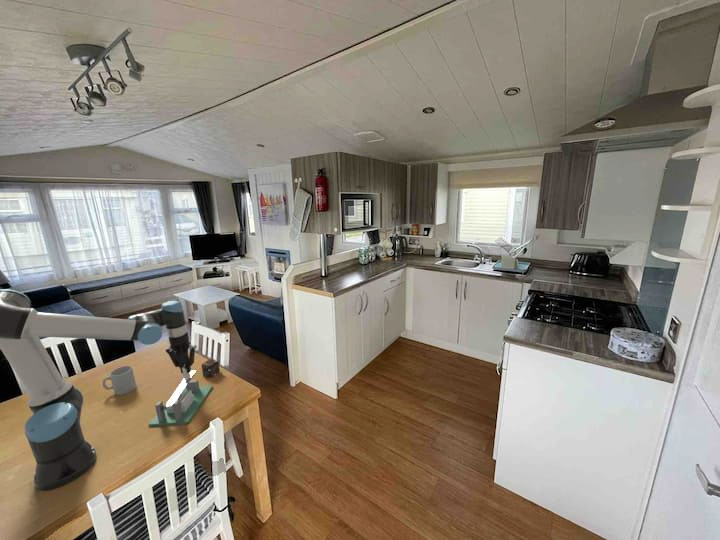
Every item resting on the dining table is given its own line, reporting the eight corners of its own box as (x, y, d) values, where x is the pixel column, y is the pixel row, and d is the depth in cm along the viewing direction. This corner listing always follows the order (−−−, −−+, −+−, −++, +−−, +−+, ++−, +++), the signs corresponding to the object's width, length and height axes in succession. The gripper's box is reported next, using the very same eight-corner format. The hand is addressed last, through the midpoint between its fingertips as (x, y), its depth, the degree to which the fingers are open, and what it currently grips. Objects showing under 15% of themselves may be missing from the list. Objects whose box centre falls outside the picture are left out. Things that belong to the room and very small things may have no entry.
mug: (137, 382, 146) (133, 363, 143) (135, 391, 139) (130, 371, 136) (107, 390, 139) (102, 371, 137) (103, 400, 132) (98, 380, 130)
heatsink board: (188, 423, 118) (184, 404, 115) (148, 426, 117) (144, 407, 114) (212, 387, 141) (210, 370, 139) (180, 389, 140) (177, 372, 138)
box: (202, 376, 150) (200, 364, 148) (211, 370, 156) (209, 358, 154) (211, 378, 148) (209, 366, 147) (220, 371, 154) (218, 360, 152)
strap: (173, 410, 117) (173, 407, 117) (161, 410, 117) (160, 408, 116) (198, 372, 138) (197, 369, 137) (187, 372, 137) (187, 370, 137)
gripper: (196, 329, 130) (205, 372, 136) (167, 330, 129) (177, 374, 135) (188, 337, 123) (197, 382, 129) (157, 338, 122) (168, 384, 128)
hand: (187, 378), depth 132 cm, fingers closed
